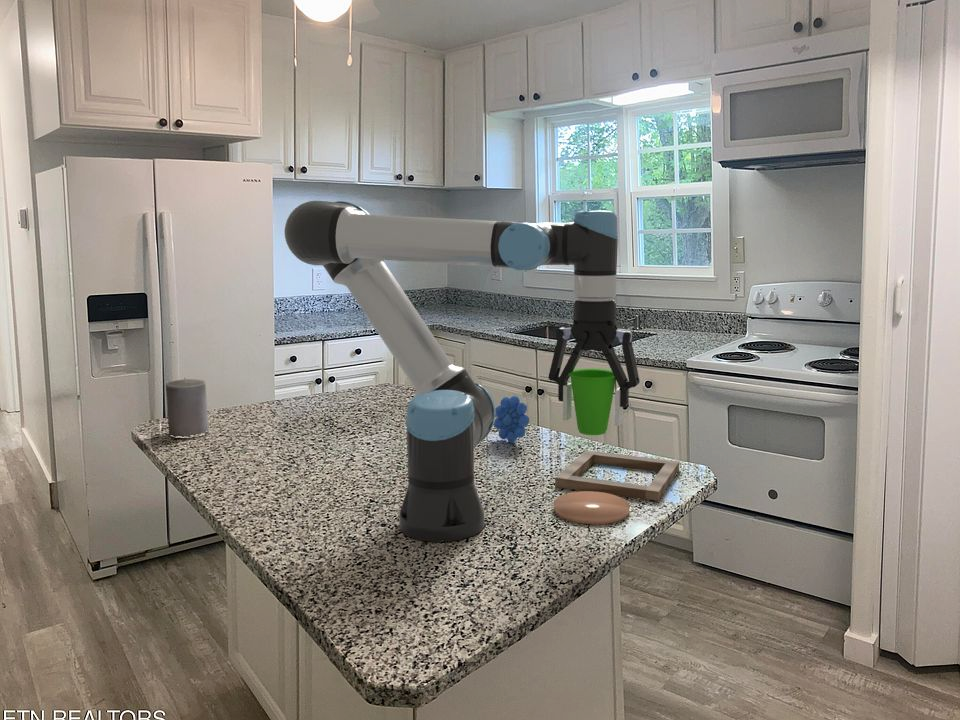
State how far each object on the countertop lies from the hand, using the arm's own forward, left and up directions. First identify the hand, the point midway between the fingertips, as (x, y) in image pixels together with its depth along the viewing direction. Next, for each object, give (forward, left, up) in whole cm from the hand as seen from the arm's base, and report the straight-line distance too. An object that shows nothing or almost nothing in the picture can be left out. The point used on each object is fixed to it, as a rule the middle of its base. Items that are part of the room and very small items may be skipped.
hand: (592, 421), depth 140 cm
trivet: (0, 0, -17) cm, 17 cm away
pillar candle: (+10, +111, -17) cm, 113 cm away
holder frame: (+20, 0, -17) cm, 26 cm away
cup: (0, 0, -2) cm, 2 cm away
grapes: (+37, +31, -17) cm, 51 cm away
